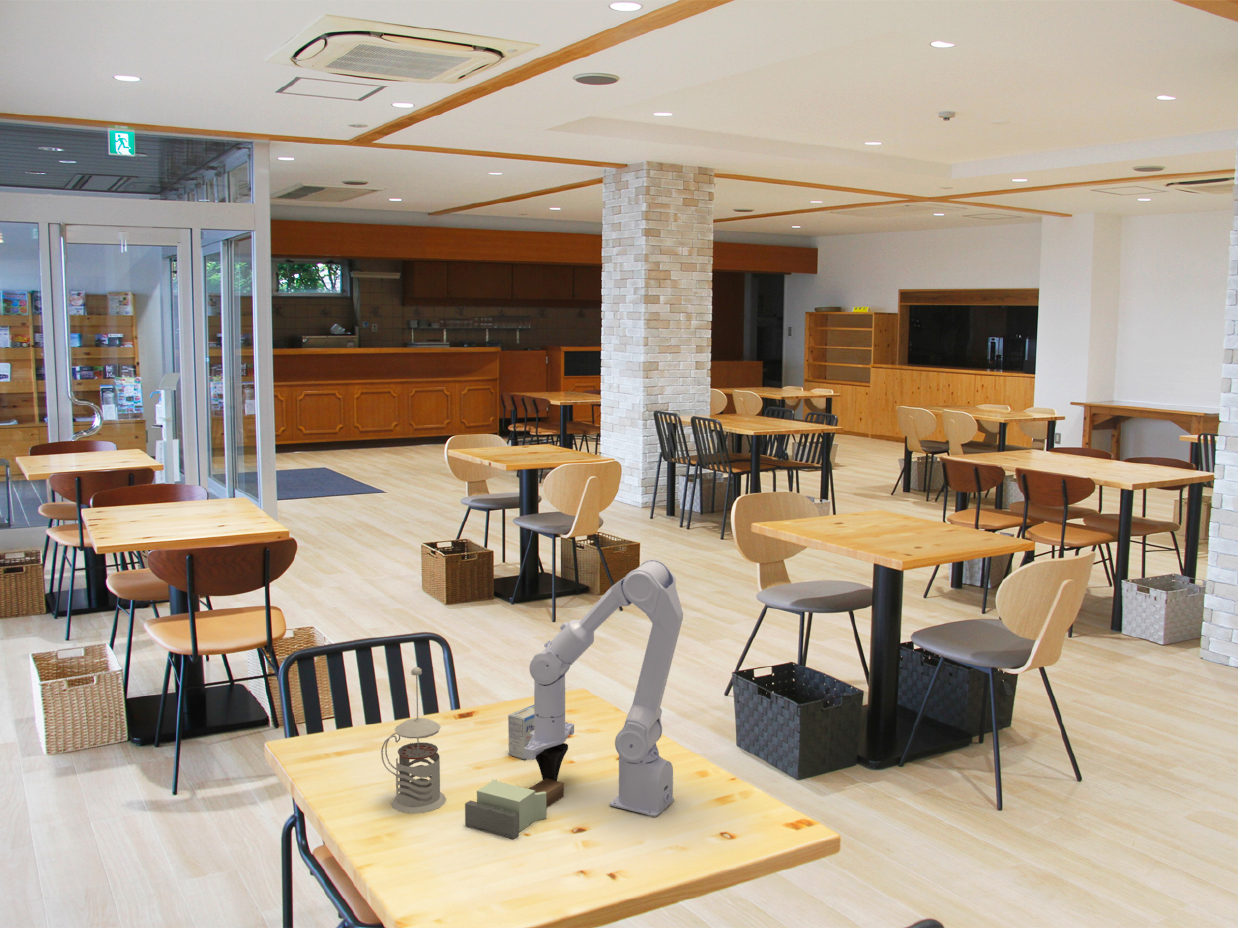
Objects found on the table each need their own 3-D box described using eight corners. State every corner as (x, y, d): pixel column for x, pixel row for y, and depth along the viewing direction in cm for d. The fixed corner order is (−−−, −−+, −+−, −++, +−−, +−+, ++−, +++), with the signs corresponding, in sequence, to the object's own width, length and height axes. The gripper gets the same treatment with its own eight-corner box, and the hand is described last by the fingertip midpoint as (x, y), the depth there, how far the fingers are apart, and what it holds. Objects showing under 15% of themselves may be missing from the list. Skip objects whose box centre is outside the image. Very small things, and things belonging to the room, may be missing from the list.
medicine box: (524, 760, 205) (524, 718, 204) (507, 755, 208) (507, 713, 207) (550, 748, 212) (550, 707, 211) (534, 743, 214) (534, 703, 213)
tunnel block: (547, 816, 181) (547, 787, 180) (525, 833, 175) (525, 803, 174) (494, 802, 186) (493, 774, 186) (470, 818, 180) (470, 789, 180)
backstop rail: (518, 835, 174) (518, 812, 174) (513, 839, 173) (513, 816, 172) (470, 822, 179) (470, 800, 178) (465, 825, 178) (465, 803, 177)
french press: (434, 815, 181) (432, 678, 178) (372, 809, 184) (369, 673, 181) (454, 791, 191) (452, 661, 188) (395, 786, 193) (392, 656, 190)
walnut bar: (563, 798, 189) (563, 782, 189) (516, 828, 178) (516, 811, 177) (546, 793, 191) (546, 777, 191) (498, 822, 180) (498, 805, 179)
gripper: (552, 697, 199) (552, 764, 200) (509, 721, 186) (510, 793, 188) (583, 703, 196) (583, 771, 197) (542, 728, 183) (542, 801, 184)
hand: (549, 782), depth 192 cm, fingers closed
